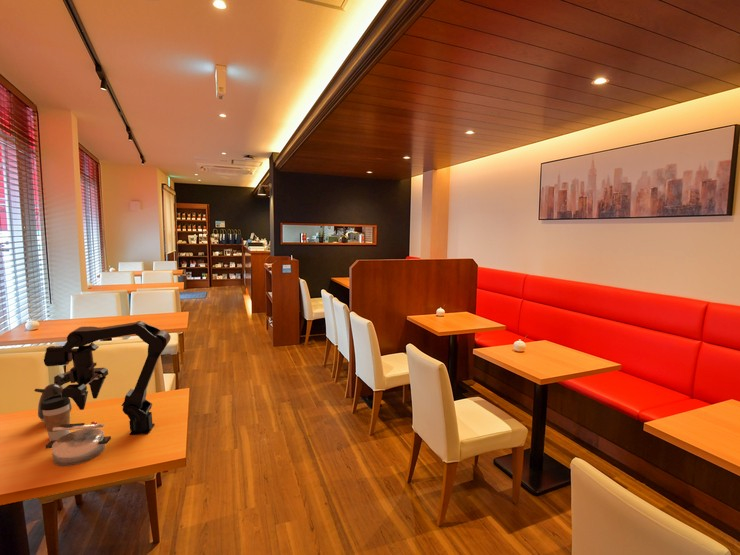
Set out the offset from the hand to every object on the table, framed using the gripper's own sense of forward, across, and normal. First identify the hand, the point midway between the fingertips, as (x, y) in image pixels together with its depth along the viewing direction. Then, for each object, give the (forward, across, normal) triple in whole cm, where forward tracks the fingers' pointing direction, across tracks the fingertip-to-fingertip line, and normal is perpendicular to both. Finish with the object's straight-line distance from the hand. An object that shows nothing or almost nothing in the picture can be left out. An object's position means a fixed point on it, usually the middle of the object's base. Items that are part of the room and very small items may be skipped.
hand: (88, 403), depth 137 cm
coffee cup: (+13, -2, -12) cm, 18 cm away
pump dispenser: (+13, -14, -20) cm, 27 cm away
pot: (+13, +10, +1) cm, 16 cm away
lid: (+4, +10, +1) cm, 11 cm away
